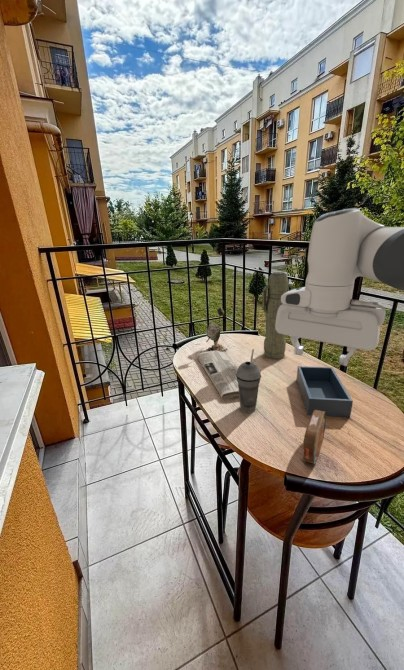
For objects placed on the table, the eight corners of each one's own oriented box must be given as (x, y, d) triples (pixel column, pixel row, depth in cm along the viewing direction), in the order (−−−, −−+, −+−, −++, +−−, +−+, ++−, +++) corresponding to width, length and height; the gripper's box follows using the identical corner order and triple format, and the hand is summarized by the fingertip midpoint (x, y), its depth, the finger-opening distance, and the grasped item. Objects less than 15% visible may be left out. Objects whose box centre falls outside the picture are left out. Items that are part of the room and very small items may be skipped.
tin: (313, 472, 62) (317, 442, 59) (299, 467, 64) (302, 437, 61) (325, 432, 74) (329, 405, 71) (312, 428, 76) (316, 402, 73)
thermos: (256, 353, 123) (259, 272, 111) (280, 349, 126) (285, 270, 114) (266, 361, 115) (270, 275, 103) (291, 357, 118) (298, 273, 106)
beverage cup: (241, 399, 90) (242, 342, 83) (263, 405, 87) (265, 346, 80) (231, 411, 84) (231, 351, 77) (254, 418, 81) (256, 355, 74)
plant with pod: (216, 343, 136) (215, 303, 129) (229, 351, 127) (229, 308, 120) (201, 347, 132) (199, 306, 125) (214, 355, 123) (213, 311, 116)
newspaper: (196, 357, 121) (196, 350, 120) (223, 353, 124) (223, 346, 123) (223, 401, 89) (223, 392, 88) (258, 395, 92) (259, 385, 91)
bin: (330, 381, 99) (332, 367, 97) (350, 417, 80) (353, 400, 78) (296, 379, 101) (297, 366, 99) (307, 414, 82) (309, 398, 80)
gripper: (390, 299, 53) (376, 365, 58) (285, 289, 65) (281, 344, 70) (385, 307, 48) (371, 378, 53) (273, 294, 60) (270, 353, 65)
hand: (319, 359), depth 61 cm, fingers open, 8 cm apart
